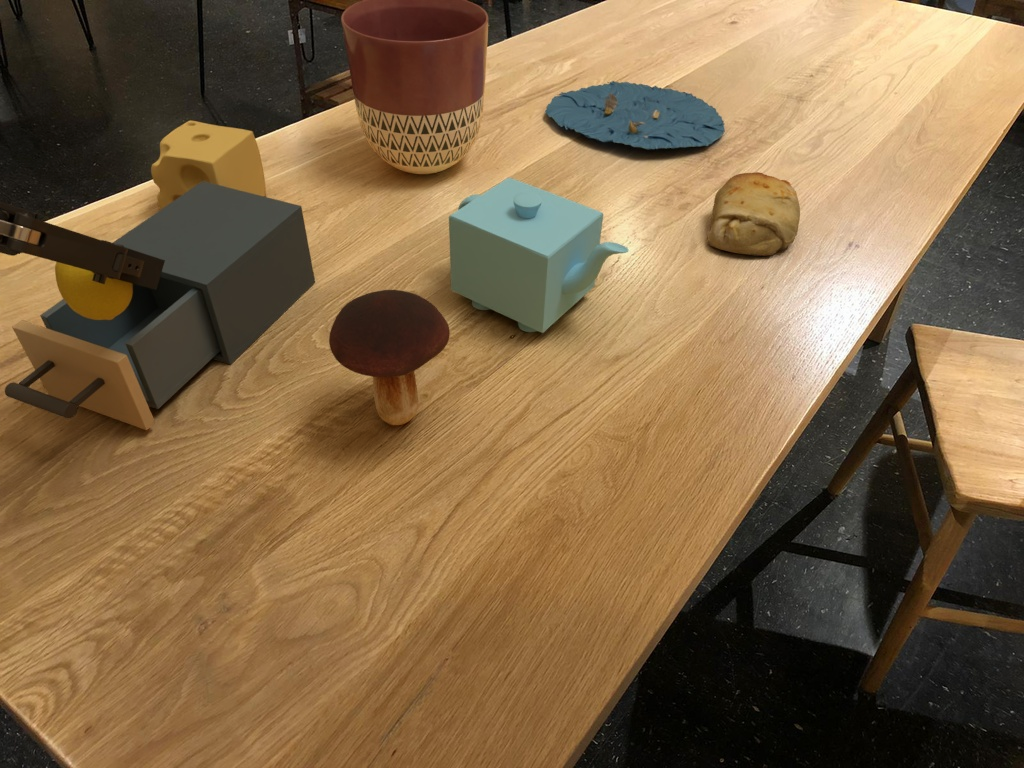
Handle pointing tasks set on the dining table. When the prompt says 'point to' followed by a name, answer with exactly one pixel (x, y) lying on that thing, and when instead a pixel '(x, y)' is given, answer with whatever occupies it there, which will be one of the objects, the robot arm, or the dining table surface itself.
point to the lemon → (92, 293)
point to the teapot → (526, 252)
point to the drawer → (118, 354)
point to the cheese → (207, 161)
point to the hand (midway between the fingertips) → (128, 265)
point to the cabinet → (231, 257)
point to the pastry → (754, 215)
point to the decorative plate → (638, 116)
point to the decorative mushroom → (389, 346)
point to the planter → (418, 78)
